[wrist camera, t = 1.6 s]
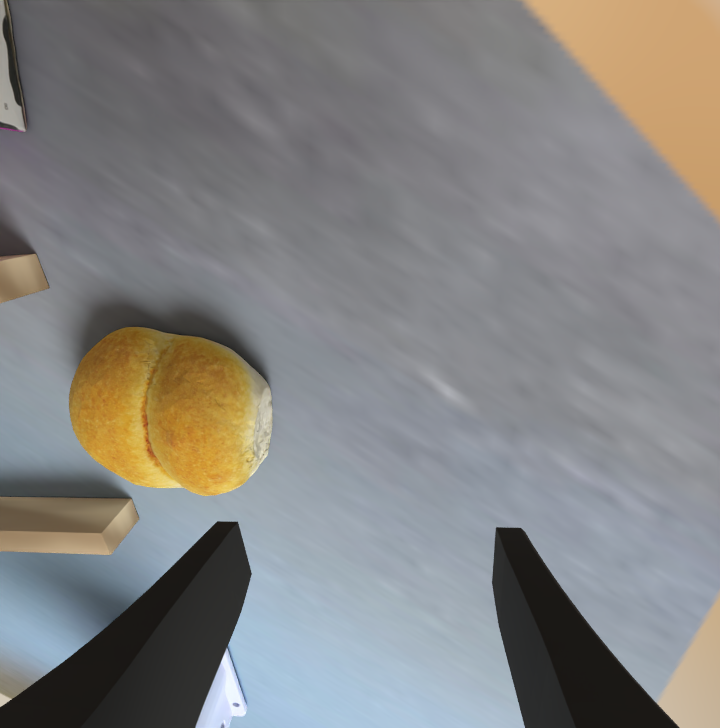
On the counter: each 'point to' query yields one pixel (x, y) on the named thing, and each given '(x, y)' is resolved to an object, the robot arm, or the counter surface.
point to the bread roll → (171, 411)
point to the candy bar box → (9, 77)
